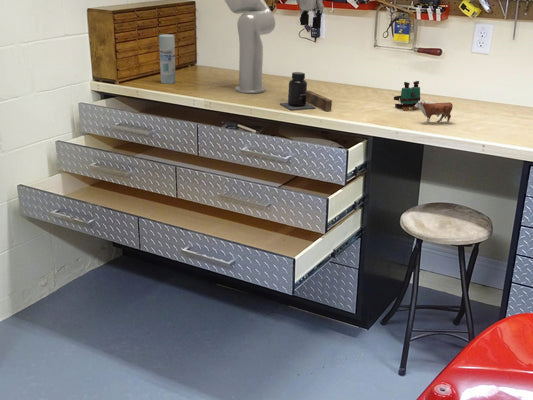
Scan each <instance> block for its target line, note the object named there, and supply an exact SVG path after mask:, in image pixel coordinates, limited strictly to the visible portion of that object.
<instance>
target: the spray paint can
mask: <svg viewBox="0 0 533 400" xmlns="http://www.w3.org/2000/svg"><path fill="white" fill-rule="evenodd" d="M175 40H176V39H175V34H169V33H168V34H167V33H166V34H165V33H164V34H158V42H159V43H158V44H159V47H158V48H159V65H160V67H159V69H160V72H159V73H160V83H161V84H162V85H172V84H175V83H176V51H175V49H176V48H175V43H176V41H175Z"/></svg>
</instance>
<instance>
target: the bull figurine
mask: <svg viewBox="0 0 533 400" xmlns="http://www.w3.org/2000/svg"><path fill="white" fill-rule="evenodd" d="M415 107H416V108H419V109H418V110H421V113H422V114H423V115H424V116H425V117H426V119H427V120H426V121H425V122H424V125H428V124H429V122H430V120H431V117H433V116H436V117H437V118H439V117H440V118H439V119H438V120H437V122H438V123H439V122H442V121H443V119H447V120H446V121H445V125H446V124H449V123H450V120H451V117H452V114H451V112H452V111H453V103H451V102H433V101H429V100H424V99H421V98H420V101H419V102H418V103H417V104H416V105H415Z"/></svg>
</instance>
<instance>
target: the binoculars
mask: <svg viewBox="0 0 533 400" xmlns="http://www.w3.org/2000/svg"><path fill="white" fill-rule="evenodd" d="M419 84H420V81H419V80H416V81H413V86H411V87H410V85H411V83H410V82H407V81H404V82H403V85H404V87H402V88H401V91H400V95H395V96H393V100H394V101H397V102H398V103H395V104H394V107H395V108H396V107H397V108H401V110H403V111H410V108H411V109H412V110H420V109H419V108H416V107H415V105H416V104H417V103H418V102H419V101H420V100H421V87H420V86H419Z"/></svg>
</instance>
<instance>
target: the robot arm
mask: <svg viewBox="0 0 533 400" xmlns="http://www.w3.org/2000/svg"><path fill="white" fill-rule="evenodd" d="M224 3H226V5H227V7H228V8H229V10H230V11H231V12H232V13H234V14H240V16H239V17H238V19H237V24H236V25H237V34H238V41H239V44H238V45H239V50H238V51H239V61H238V62H239V63H238V65H239V66H238V67H239V68H238V70H239V73H238V76H239V77H238V85H237V86H235V88H234V89H235V91H236V92H238V93H241V94H260V93H264V92H266V89H267V88H266V87H265V86H263V64H264V63H263V62H264V61H263V60H264V52H263V51H264V47H263V41H262V39H261V36H263V35H269V34H271V33H272V32H273V31H274V29H275V27H276V18H275V16H274V14H273V12H272V10H271V9H270V7H269V5H268V4H267V3H266V1H265V0H224ZM299 9H300V26H309V24H310V22H309V20H310V14H309V12H312V15H313V17H312V24H311V25H312V26H311V27H312V29H321V25H322V17H323V13H324V9H325V5H324V3H323V0H299Z"/></svg>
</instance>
